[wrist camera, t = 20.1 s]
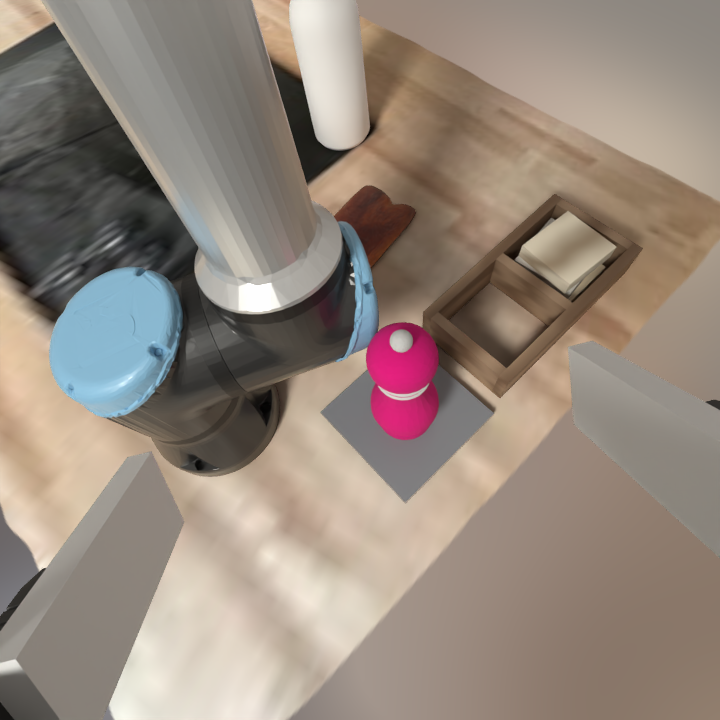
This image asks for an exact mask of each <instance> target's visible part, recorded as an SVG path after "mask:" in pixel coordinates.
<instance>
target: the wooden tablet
mask: <svg viewBox="0 0 720 720" xmlns="http://www.w3.org/2000/svg"><path fill="white" fill-rule="evenodd" d="M415 213H416V212H415V209H414V208H412V207H411V206H408V205H404V204H396V205H393V204H392V202H391V200H390V198H389V197H388V196H387V195H386V194H385V193H383V192H382V191H381V190H379V189H377V188H375V187H373V186H365V187H363V188H362V189H360V190H359V191H358V192H357V193H356V194H355V195H354V196H353V197H352V198H351V199H350V200H349V201H348V202H347V203H346V204H345V205H344V206H343V207H342V208H341V209H340V210H339V212H338V213H337V214H336V215H335V216H334V218H335V219H336V221H337V222H339V221H343V222H347V223H349V224H350V225H351V226H352V227H353V228H354V230H355V231H356V233H357V235H358V237H359V239H360V241H361V243H362V245H363V247H364V250H365V253H366V256H367V259H368V262H369V265H370V268H371V267H372V266H373V265H374V264H375V263H376V262H377V260H378V259H379V258H380V257H381V256H382V255H383V253H384V252H385V251H386V250H387V249H388V248H389V247H390V245H391V244H392V243H393V242H394V241H395V240H396V239H397V237H398V236H400V234H401V233H402V232H403V231H404V229H405V228H406V227H407V226H408V224H409V223H410V222H411V220H412V219H413V217H414V215H415Z"/></svg>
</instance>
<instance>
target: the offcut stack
mask: <svg viewBox="0 0 720 720" xmlns="http://www.w3.org/2000/svg"><path fill="white" fill-rule="evenodd" d="M615 249H616V246H615V245H614V244H612V243H611V242H610V241H608V240H607V239H605V238H604V237H603V236H601V235H600V234H599V233H597V232H596V231H595V230H593V229H592V228H591V227H589V226H588V225H586V224H585V223H584V222H582V221H581V220H580V219H578V218H577V217H576V216H574V215H573V214H572V213H570V212H569V211H567V212H566V213H564V214H563V215H562V216H560V217H559V218H558V219H556V220H554V219H553V218H551V219H550V220H549V221H548V222H547V223H546V224H545V226H544V227H543V228H542V229H541V230H540V231H539V232H538V234H537V235H535V236H534V237H533V238H531V239H530V240H529V241H528V242H526V243H525V244H524V245H522V248H521V250H520V253H519V256H518V257H517V258H516V259H515V260H514V261H515V262H516V263H518V264H519V265H520V266H522V267H523V268H525V269H526V270H528V271H529V272H530V273H532V274H533V275H535V276H536V277H537V278H539V279H540V280H542V281H543V282H544V283H546V284H547V285H549V286H550V287H551V288H553V289H554V290H556V291H557V292H558V293H560V294H561V295H563V296H564V297H566V298H567V299H568V300H570V301H571V302H574V301H575V300H576V299H577V298H578V297H579V296H580V295H581V294H582V293H583V292H584V291H585V290H586V289H587V288H588V287H589V286H590V285H591V284H592V283H593V282H594V281H595V280H596V279H597V278H598V277H599V276H600V275H601V274H602V272H603V271H604V269H605V268H606V267H605V266H604V265H602V263H604V262H605V261H606V260H607V259H609V258H610V257H611V255H612V253H613V252H614V250H615Z"/></svg>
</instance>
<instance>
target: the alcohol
mask: <svg viewBox="0 0 720 720" xmlns="http://www.w3.org/2000/svg"><path fill="white" fill-rule="evenodd" d="M289 23H290V27H291V32H292V36H293V40H294V45H295V49H296V53H297V58H298V62H299V66H300V71H301V75H302V79H303V84H304V88H305V93H306V97H307V101H308V106H309V110H310V114H311V119H312V123H313V127H314V132H315V135H316V138H317V140H318V141H319V142H320V143H321V144H322V145H324V146H325V147H327V148H328V149H331V150H335V151H344V150H349V149H352V148H354V147H356V146H358V145H359V144H360V143H362V142H363V140H364V139H365V137H366V136H367V134H368V132H369V129H370V121H369V111H368V101H367V91H366V81H365V71H364V61H363V50H362V40H361V30H360V20H359V10H358V6H357V2H356V0H291V1H290V5H289Z"/></svg>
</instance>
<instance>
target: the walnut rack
mask: <svg viewBox="0 0 720 720" xmlns="http://www.w3.org/2000/svg"><path fill="white" fill-rule="evenodd" d="M567 211H569V212H570V213H572V214H573V215H574V216H576V217H577V218H578V219H580V220H581V221H582V222H584V223H585V224H586V225H588V226H589V227H591V228H592V229H593V230H595V231H596V232H597V233H599V234H600V235H601V236H603V237H604V238H605V239H607V240H608V241H610V242H611V243H612V244H614V245H615V246H616V249H615V250H614V252H613V253H612V255H611V257H610V258H609V259H607V260H606V261H605V262H604V263H602V265H604V266H605V267H606V268H605V269H604V270H606V271H605V272H604V273H603V274H602V275H601V276H600V277H599V278H598V279H597V280H596V281H595V282H594V283H593V284H592V285H591V286H590V287H589V288H588V289H587V290H586V291H585V292H583V293H582V294H581V295H580V296H579V297H578V298H577V299H576V300H575V301H574V302H571V301H570V300H568V299H567V298H566V297H564V296H563V295H561V294H560V293H558V292H557V291H556V290H554V289H553V288H551V287H550V286H549V285H547V284H546V283H544V282H543V281H542V280H540V279H539V278H537V277H536V276H535V275H533V274H532V273H530V272H529V271H528V270H526V269H525V268H523V267H522V266H520V265H519V264H518V263H516V262H515V261H513V260H514V259H516V258H517V257H518V256H519V253H520V250H521V248H522V245H524V244H525V243H526V242H528V241H529V240H530V239H531V238H533V237H534V236H535V235H537V234H538V232H539V231H540V230H541V229H542V228H543V227H544V226H545V224H546V223H547V222H548V221H549V220H550V219H551V218H553V219H554V220H556V219H558V218H559V217H560V216H562V215H563V214H564V213H566V212H567ZM642 249H643V248H641V247H640V246H638V245H636V244H635V243H633V242H632V241H630V240H628V239H627V238H625V237H624V236H622V235H620V234H619V233H617V232H615V231H614V230H612V229H611V228H609V227H607V226H606V225H604V224H603V223H601V222H599V221H598V220H596V219H594V218H593V217H591V216H590V215H588V214H586V213H585V212H583V211H581V210H580V209H578V208H577V207H575V206H573V205H572V204H570V203H569V202H567V201H565V200H564V199H562V198H560V197H559V196H557V195H556V194H554V195H553V196H552V197H551V198H549V199H548V200H547V201H546V202H545V203H544V204H543V205H542V206H541V207H539V208H538V209H537V210H536V211H535V212H534V213H533V214H532V215H531V216H529V217H528V218H527V219H526V220H525V221H524V222H523V223H522V224H521V225H519V226H518V227H517V228H516V229H515V230H514V231H513V232H512V233H511V234H509V235H508V236H507V237H506V238H505V239H504V240H503V241H502V242H501V243H499V244H498V245H497V246H496V247H495V248H494V249H493V250H492V251H491V252H489V253H488V254H487V255H486V256H485V257H484V258H483V259H482V260H481V261H479V262H478V263H477V264H476V265H475V266H474V267H473V268H472V269H471V270H469V271H468V272H467V273H466V274H465V275H464V276H463V277H462V278H461V279H460V280H458V281H457V282H456V283H455V284H454V285H453V286H452V287H451V288H450V289H448V290H447V291H446V292H445V293H444V294H443V295H442V296H441V297H440V298H438V299H437V300H436V301H435V302H434V303H433V304H432V305H431V306H430V307H428V308H427V309H426V310H425V311H424V312H423V329H424V330H426V331H427V332H428V333H429V334H430V335H431V337H432V338H433V340H434V342H435V343H436V344H437V345H438V346H440V347H441V348H442V349H443V350H444V351H445V352H447V353H448V354H449V355H450V356H451V357H452V358H454V359H455V360H456V361H457V362H458V363H459V364H461V365H462V366H463V367H464V368H465V369H466V370H467V371H469V372H470V373H471V374H472V375H473V376H474V377H476V378H477V379H478V380H479V381H480V382H481V383H483V384H484V385H485V386H486V387H487V388H488V389H490V390H491V391H492V392H493V393H494V394H495V395H497V396H498V397H499V398H501V397H502V396H503V395H504V394H505V393H506V392H507V391H508V390H509V389H510V388H511V387H512V386H513V385H514V384H515V383H516V382H517V381H518V380H519V379H520V378H521V377H522V376H523V375H524V374H525V373H526V372H527V371H528V370H529V369H530V368H531V367H532V366H533V365H534V364H535V363H536V362H537V361H538V360H539V359H540V358H541V357H542V356H543V355H544V354H545V353H546V352H547V351H548V350H549V349H550V348H551V347H552V346H553V345H554V344H555V343H556V342H557V341H558V340H559V339H560V338H561V337H562V336H563V335H564V333H565V332H566V331H567V330H568V329H569V328H570V327H571V326H572V325H573V324H574V323H575V322H576V321H577V320H578V319H579V318H580V317H581V316H582V315H583V314H584V313H585V312H586V311H587V310H588V309H589V308H590V307H591V306H592V305H593V304H594V303H595V302H596V301H597V300H598V299H599V298H600V297H601V296H602V295H603V294H604V293H605V292H606V291H607V290H608V289H609V288H610V287H611V286H612V285H613V284H614V283H615V282H616V281H617V280H618V279H619V278H620V277H621V276H622V275H623V274H624V273H625V272H626V271H627V269H628V268H629V267H630V265H631V264H632V263H633V261H634V260H635V259H636V257H637V256H638V255H639V253H640V252H641V251H642ZM489 282H490V283H491V284H493V285H494V286H495V287H497V288H498V289H499V290H501V291H502V292H503V293H505V294H506V295H507V296H509V297H510V298H511V299H513V300H514V301H515V302H517V303H518V304H519V305H521V306H522V307H523V308H525V309H526V310H527V311H529V312H530V313H531V314H533V315H534V316H535V317H537V318H538V319H540V320H541V321H542V322H544V323H545V324H546V325H548V326H549V327H548V328H547V329H546V330H545V331H544V332H543V333H542V334H541V335H540V336H539V337H538V338H537V339H536V340H535V341H534V342H533V343H532V344H531V345H530V346H529V347H528V348H527V349H526V350H525V351H524V352H523V353H522V354H521V355H520V356H519V357H518V358H517V359H516V360H515V361H514V362H513V363H512V364H511V365H510V366H509V367H508V368H506V367H504V366H503V365H502V364H501V363H500V362H498V361H497V360H496V359H495V358H494V357H492V356H491V355H490V354H489V353H487V352H486V351H485V350H484V349H483V348H481V347H480V346H479V345H478V344H477V343H475V342H474V341H473V340H472V339H470V338H469V337H468V336H467V335H466V334H464V333H463V332H462V331H461V330H460V329H458V328H457V327H456V326H455V325H453V324H452V323H451V322H450V321H449V319H450V318H451V317H452V316H454V315H455V314H456V313H457V312H458V311H459V310H460V309H461V308H462V307H463V306H464V305H466V304H467V303H468V302H469V301H470V300H471V299H472V298H473V297H474V296H475V295H476V294H477V293H479V292H480V291H481V290H482V289H483V288H484V287H485V286H486V285H487V284H488V283H489Z"/></svg>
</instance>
